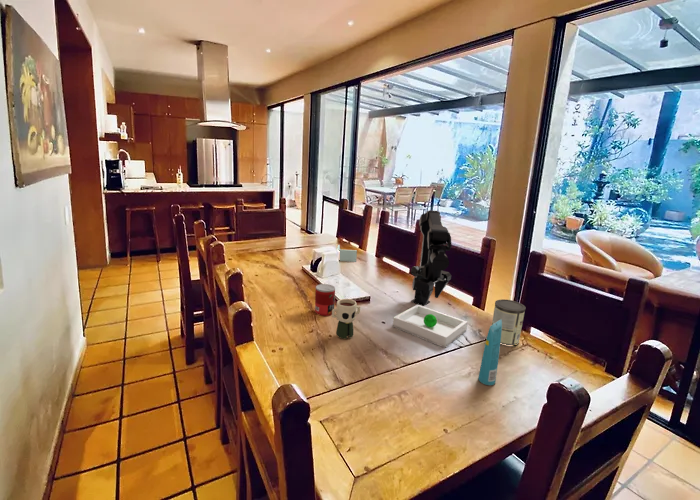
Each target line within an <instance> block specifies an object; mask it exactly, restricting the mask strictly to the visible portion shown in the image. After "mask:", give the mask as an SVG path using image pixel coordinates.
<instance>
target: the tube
mask: <svg viewBox="0 0 700 500" xmlns="http://www.w3.org/2000/svg"><path fill="white" fill-rule="evenodd" d="M501 332H502V320H499V321H497V322H496V323H494V324H493V325H492V324H491V325H490V326H489V329H488V332H487V336H486V338H485V339H486V340H485V343H484V348H483V353H482V357H481V362H480V369H479V372H478V378H477V379H478V381H479V382H480V383H481V384H483V385H486V386H494V385H495V384H496V381H497V374H498V366H499V359H500V358H499V357H500V348H501V345H500V342H501Z"/></svg>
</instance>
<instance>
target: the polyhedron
mask: <svg viewBox="0 0 700 500" xmlns="http://www.w3.org/2000/svg"><path fill="white" fill-rule="evenodd" d="M424 323H425V325H426V326H428V327H434V326H435V325H436V324H437V319H436V317H435V316H434V315H432V314H428V315H426V316H425V317H424Z"/></svg>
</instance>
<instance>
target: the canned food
mask: <svg viewBox="0 0 700 500" xmlns="http://www.w3.org/2000/svg"><path fill="white" fill-rule="evenodd" d="M335 296H336V286H334V285H332V284H328V283H320V284H317V285H316V286H315V296H314V298H315V299H314V313H315V314H317V315H318V316H322V317H329V316H332V309H335V301H336V299H335V298H336V297H335Z"/></svg>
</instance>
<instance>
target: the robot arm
mask: <svg viewBox="0 0 700 500" xmlns="http://www.w3.org/2000/svg"><path fill="white" fill-rule="evenodd" d="M418 221H419V222H418V225H419V229H420V231H421V234H422V244H421V254H420V264H419V266H418V265H416V266H412V267H411V269H410V274H411V275H412V276H413V279H412V290H413V291H415V293H414V299H411V300H410V302H411V303H414V304H416V305H417V304H418V305H421V306H424V307H425V305H427V304H429V303H431V301H430V298H431V296H432V294H433V292H434V298H435V299H439V296H440V295H441V293H442V292H443V291H444V289H445V288H446V286H447V285H448V283H449V281H450V280H451V279H452V274H451V273H450V272H449V271H446V269H448V267H449V266H450V260H449V258H448V256H447V254H446V252H448V251H450V252H451V248H452V236H451V233H450V232H449V229H448V228H447V227H445V226H443V223H442V216H441V212H440V211H438V210H430V209H429V210H427V211H426V212H425V213H423V214H421V215H420V217H419V220H418Z"/></svg>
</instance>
